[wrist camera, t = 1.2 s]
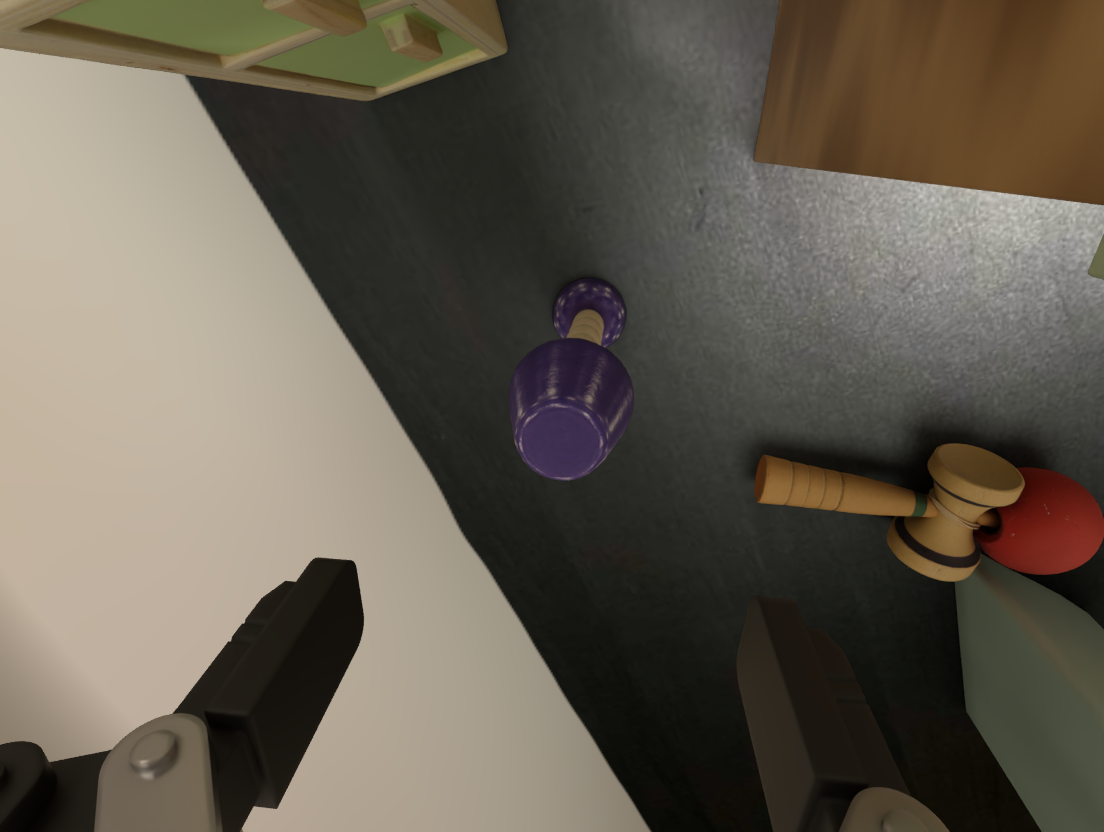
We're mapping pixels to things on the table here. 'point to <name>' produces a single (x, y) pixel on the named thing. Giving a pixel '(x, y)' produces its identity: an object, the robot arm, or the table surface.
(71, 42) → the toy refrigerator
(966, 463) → the kendama
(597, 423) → the toy lamp
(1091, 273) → the box
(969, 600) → the planter
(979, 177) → the stand
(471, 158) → the table surface
